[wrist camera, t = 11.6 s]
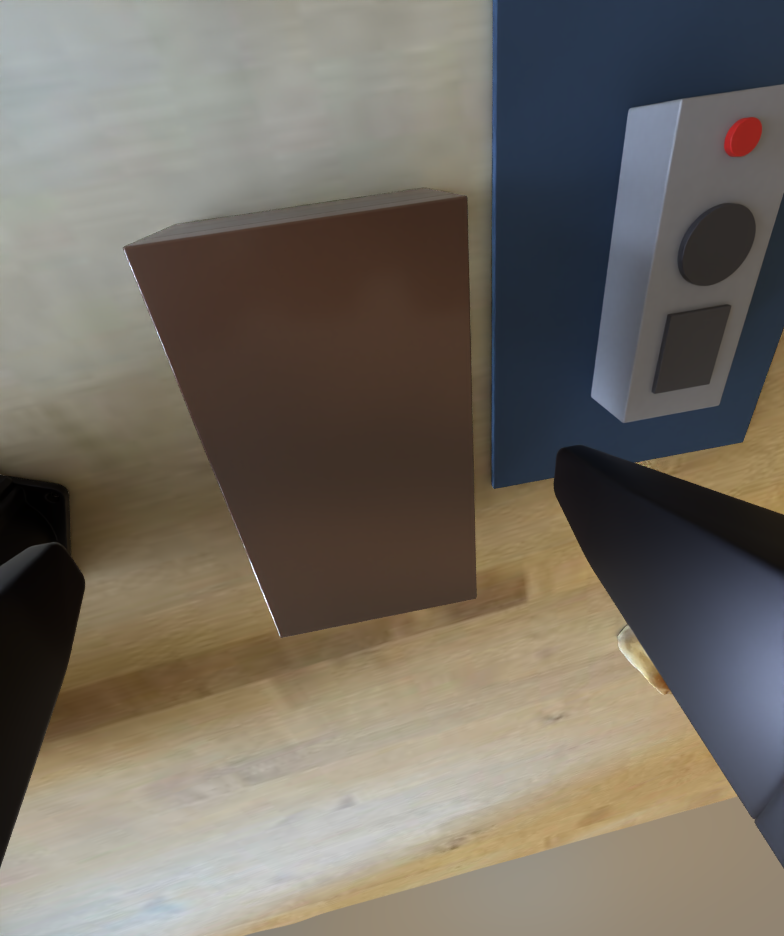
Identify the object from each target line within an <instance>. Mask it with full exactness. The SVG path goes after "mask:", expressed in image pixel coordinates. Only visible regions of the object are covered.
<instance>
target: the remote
mask: <svg viewBox="0 0 784 936" xmlns="http://www.w3.org/2000/svg"><path fill="white" fill-rule="evenodd" d="M783 193H784V84H781V85H774V86H768V87H761V88H754V89H747V90H740V91H733V92H726V93H719V94H712V95H705V96H698V97H691V98H684V99H678V100H673V101H667V102H662V103H656V104H650V105H645V106H639V107H634V108H630V109H629V110H628V117H627V125H626V132H625V140H624V148H623V155H622V163H621V170H620V178H619V186H618V193H617V201H616V208H615V216H614V224H613V231H612V239H611V247H610V254H609V262H608V269H607V277H606V285H605V292H604V300H603V308H602V315H601V323H600V330H599V338H598V346H597V353H596V361H595V369H594V376H593V384H592V391H591V397H592V398H593V399H594V400H596V401H597V402H598V403H599V404H601V405H602V406H603V407H604V408H605V409H607V410H608V411H609V412H610V413H612V414H613V415H614V416H615V417H616V418H618V419H619V420H620V421H621V422H623V423H626V422H632V421H637V420H643V419H648V418H653V417H659V416H664V415H670V414H675V413H681V412H686V411H691V410H697V409H702V408H708V407H713V406H718V405H719V404H720V400H721V397H722V394H723V391H724V387H725V384H726V381H727V377H728V374H729V371H730V368H731V364H732V361H733V358H734V354H735V351H736V348H737V345H738V341H739V338H740V335H741V331H742V328H743V325H744V322H745V318H746V315H747V312H748V308H749V305H750V302H751V299H752V295H753V292H754V289H755V285H756V282H757V279H758V276H759V272H760V269H761V266H762V262H763V259H764V256H765V252H766V249H767V246H768V243H769V239H770V236H771V233H772V229H773V226H774V223H775V220H776V216H777V213H778V210H779V206H780V203H781V200H782V197H783Z"/></svg>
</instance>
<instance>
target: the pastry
mask: <svg viewBox="0 0 784 936" xmlns="http://www.w3.org/2000/svg"><path fill="white" fill-rule="evenodd" d="M617 638H618V640H619V643H618V646H619V649H620V650H621V652H622V653H623V654H624V655H625V657H626V658H627V659H628V660H629V662H630V663H631V664H632V665H633V666H634V667H635V668H636V669H638V670H639V671H640V672H641V673H642V674H643V675H644V676H645V678H646V679H647V680H648V681H649V683H650V684H652V685H653V687H654V688H655V689H656V690H658V691H659V692H660V693H661V694H663V695H665V694H672V692H671V691H670V689H669V688H668V686H667V685H666V683H665V681H664V680H663V678H662V677H661V675H660V674H659V672H658V670H657V669H656V667H655V666H654V664H653V663H652V661H651V660H650V658H649V656H648V655H647V653H646V652H645V650H644V649H643V647H642V645H641V644H640V642H639V641H638V639H637V638H636V636H635V635H634V633H633V631H632V630H631V628H630V627H629V625H627V626H626V627H625V628H624V629H623V630H622V632H621V633H620V634H619V635H618V637H617Z"/></svg>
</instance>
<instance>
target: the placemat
mask: <svg viewBox="0 0 784 936" xmlns="http://www.w3.org/2000/svg"><path fill="white" fill-rule="evenodd" d="M781 84H784V0H493V114H492V487H493V488H494V489H496V488H502V487H507V486H512V485H518V484H523V483H528V482H534V481H539V480H544V479H550V478H554V475H555V465H556V456H557V453H558V451H559V450H560V449H561V448H564V447H569V446H574V445H584V446H587V447H590V448H593V449H596V450H599V451H601V452H604V453H607V454H610V455H613V456H616V457H619V458H622V459H624V460H627V461H630V462H633V463H635V462H640V461H645V460H651V459H656V458H661V457H667V456H672V455H677V454H683V453H688V452H693V451H698V450H704V449H709V448H714V447H720V446H725V445H730V444H736V443H741V442H743V441H744V438H745V435H746V432H747V429H748V426H749V424H750V421H751V418H752V415H753V412H754V410H755V407H756V404H757V401H758V398H759V396H760V393H761V390H762V387H763V384H764V382H765V379H766V376H767V373H768V370H769V367H770V365H771V362H772V359H773V356H774V353H775V351H776V348H777V345H778V342H779V339H780V337H781V334H782V331H783V328H784V193H783V197H782V200H781V203H780V206H779V210H778V213H777V216H776V220H775V223H774V226H773V229H772V233H771V236H770V239H769V243H768V246H767V249H766V252H765V256H764V259H763V262H762V266H761V269H760V272H759V276H758V279H757V282H756V285H755V289H754V292H753V295H752V299H751V302H750V305H749V308H748V312H747V315H746V318H745V322H744V325H743V328H742V331H741V335H740V338H739V341H738V345H737V348H736V351H735V354H734V358H733V361H732V364H731V368H730V371H729V374H728V377H727V381H726V384H725V387H724V391H723V394H722V397H721V400H720V404H719V405H718V406H713V407H708V408H702V409H697V410H691V411H686V412H681V413H675V414H670V415H664V416H659V417H653V418H648V419H643V420H637V421H632V422H626V423H623V422H621V421H620V420H619V419H618V418H616V417H615V416H614V415H613V414H612V413H610V412H609V411H608V410H607V409H605V408H604V407H603V406H602V405H601V404H599V403H598V402H597V401H596V400H594V399H593V398H592V397H591V391H592V384H593V376H594V369H595V361H596V353H597V346H598V338H599V330H600V323H601V315H602V308H603V300H604V292H605V285H606V277H607V269H608V262H609V254H610V247H611V239H612V231H613V224H614V216H615V208H616V201H617V193H618V186H619V178H620V170H621V163H622V155H623V148H624V140H625V132H626V125H627V117H628V110H629V109H630V108H634V107H639V106H645V105H650V104H656V103H662V102H667V101H673V100H678V99H684V98H691V97H698V96H705V95H712V94H719V93H726V92H733V91H740V90H747V89H754V88H761V87H768V86H774V85H781Z"/></svg>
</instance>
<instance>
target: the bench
mask: <svg viewBox="0 0 784 936" xmlns="http://www.w3.org/2000/svg"><path fill="white" fill-rule="evenodd" d="M123 250H124V253H125V255H126V258H127V260H128V263H129V265H130V267H131V270H132V272H133V275H134V277H135V280H136V282H137V285H138V287H139V290H140V292H141V295H142V297H143V300H144V302H145V304H146V307H147V309H148V312H149V314H150V317H151V319H152V322H153V324H154V327H155V329H156V332H157V334H158V337H159V339H160V341H161V344H162V346H163V349H164V351H165V354H166V356H167V359H168V361H169V364H170V366H171V369H172V371H173V373H174V376H175V378H176V381H177V383H178V386H179V388H180V391H181V393H182V396H183V398H184V401H185V403H186V406H187V408H188V410H189V413H190V415H191V418H192V420H193V423H194V425H195V428H196V430H197V433H198V435H199V438H200V440H201V443H202V445H203V447H204V450H205V452H206V455H207V457H208V460H209V462H210V465H211V467H212V470H213V472H214V475H215V477H216V480H217V482H218V484H219V487H220V489H221V492H222V494H223V497H224V499H225V502H226V504H227V507H228V509H229V512H230V514H231V516H232V519H233V521H234V524H235V526H236V529H237V531H238V534H239V536H240V539H241V541H242V544H243V546H244V549H245V551H246V553H247V556H248V558H249V561H250V563H251V566H252V568H253V571H254V573H255V576H256V578H257V581H258V583H259V586H260V588H261V590H262V593H263V595H264V598H265V600H266V603H267V605H268V608H269V610H270V613H271V615H272V618H273V620H274V623H275V625H276V627H277V630H278V632H279V635H280V637H281V638H283V637H288V636H293V635H298V634H303V633H308V632H313V631H318V630H323V629H328V628H333V627H338V626H343V625H348V624H352V623H357V622H362V621H367V620H372V619H377V618H382V617H387V616H392V615H397V614H402V613H407V612H412V611H417V610H422V609H427V608H432V607H437V606H442V605H447V604H452V603H457V602H462V601H466V600H471V599H476V598H477V588H476V546H475V503H474V461H473V418H472V375H471V333H470V290H469V248H468V205H467V196H465V195H459V194H454V193H449V192H444V191H439V190H433V189H428V188H418V189H411V190H404V191H397V192H391V193H384V194H377V195H370V196H364V197H357V198H350V199H343V200H336V201H330V202H323V203H316V204H309V205H303V206H296V207H289V208H282V209H275V210H269V211H262V212H255V213H248V214H242V215H235V216H228V217H221V218H214V219H208V220H201V221H194V222H187V223H181V224H175V225H172V226H170V227H168V228H166V229H163V230H161V231H159V232H156V233H154V234H152V235H149V236H147V237H145V238H142V239H140V240H138V241H136V242H133V243H131V244H129V245H127V246H125V247H123Z"/></svg>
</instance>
